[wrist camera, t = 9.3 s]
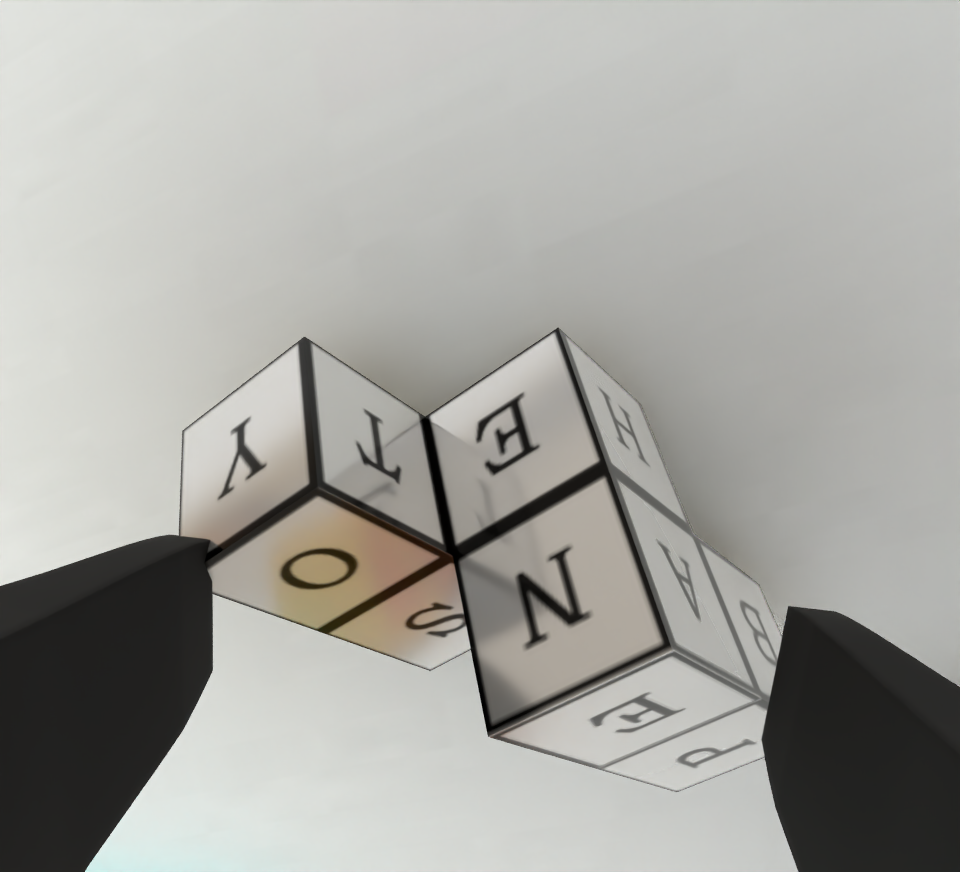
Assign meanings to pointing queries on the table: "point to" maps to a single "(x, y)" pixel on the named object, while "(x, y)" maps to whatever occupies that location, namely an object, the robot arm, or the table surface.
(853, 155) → the table surface
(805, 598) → the table surface
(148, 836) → the table surface
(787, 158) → the table surface
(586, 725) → the building blocks
